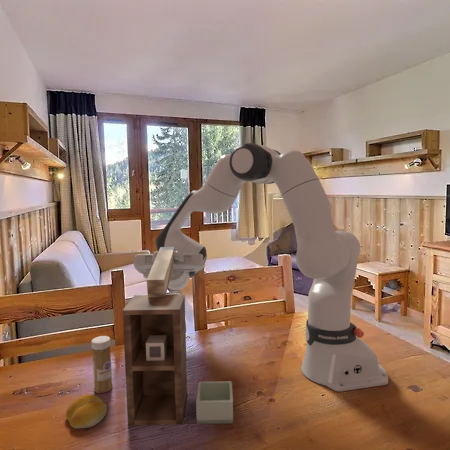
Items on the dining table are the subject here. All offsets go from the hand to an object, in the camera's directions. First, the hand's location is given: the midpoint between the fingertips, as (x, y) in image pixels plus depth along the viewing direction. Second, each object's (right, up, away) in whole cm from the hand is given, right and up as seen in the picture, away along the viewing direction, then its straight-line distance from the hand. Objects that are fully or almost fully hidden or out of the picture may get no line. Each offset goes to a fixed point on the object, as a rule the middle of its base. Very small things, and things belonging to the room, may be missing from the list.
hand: (165, 254), depth 95 cm
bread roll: (-15, -36, -17) cm, 42 cm away
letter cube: (+1, -22, -17) cm, 28 cm away
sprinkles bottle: (-15, -34, -6) cm, 38 cm away
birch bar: (0, -6, -5) cm, 8 cm away
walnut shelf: (+1, -35, -15) cm, 38 cm away
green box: (+14, -35, -16) cm, 41 cm away
